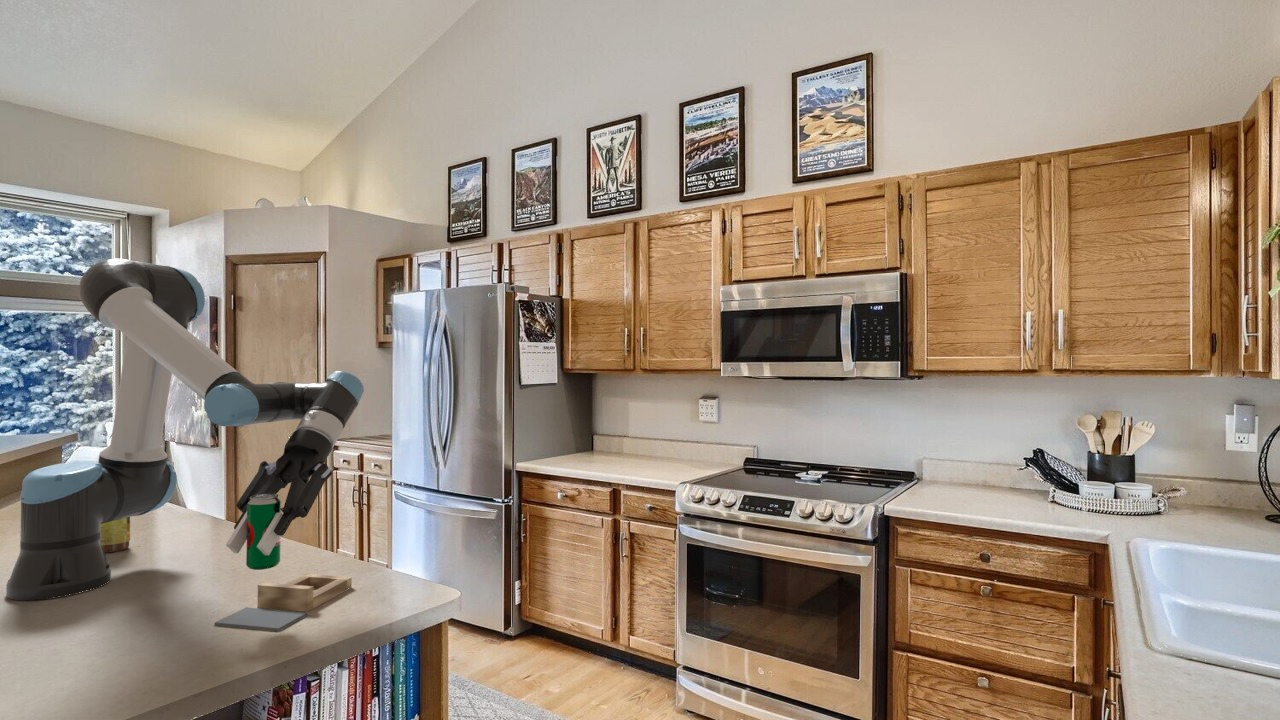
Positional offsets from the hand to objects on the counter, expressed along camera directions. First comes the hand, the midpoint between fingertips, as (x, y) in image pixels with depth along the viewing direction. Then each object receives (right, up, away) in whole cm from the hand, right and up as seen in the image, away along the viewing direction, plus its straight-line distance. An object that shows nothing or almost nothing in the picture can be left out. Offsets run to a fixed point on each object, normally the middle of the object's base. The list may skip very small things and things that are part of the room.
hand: (247, 549), depth 109 cm
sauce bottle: (-57, -13, +43) cm, 72 cm away
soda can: (+1, -4, +4) cm, 6 cm away
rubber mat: (0, -13, +4) cm, 14 cm away
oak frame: (+2, -13, +15) cm, 20 cm away
